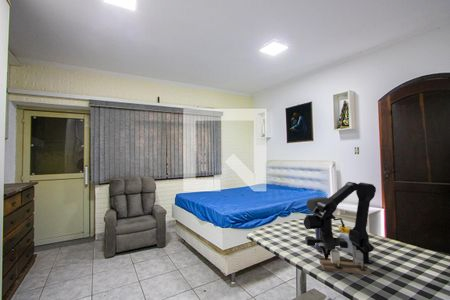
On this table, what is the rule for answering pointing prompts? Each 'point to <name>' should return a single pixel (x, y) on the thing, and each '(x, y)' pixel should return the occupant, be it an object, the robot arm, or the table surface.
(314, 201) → the rubber mallet
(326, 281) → the table surface
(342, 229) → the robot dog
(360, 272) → the wooden peg rack
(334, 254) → the slider
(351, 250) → the medicine box
